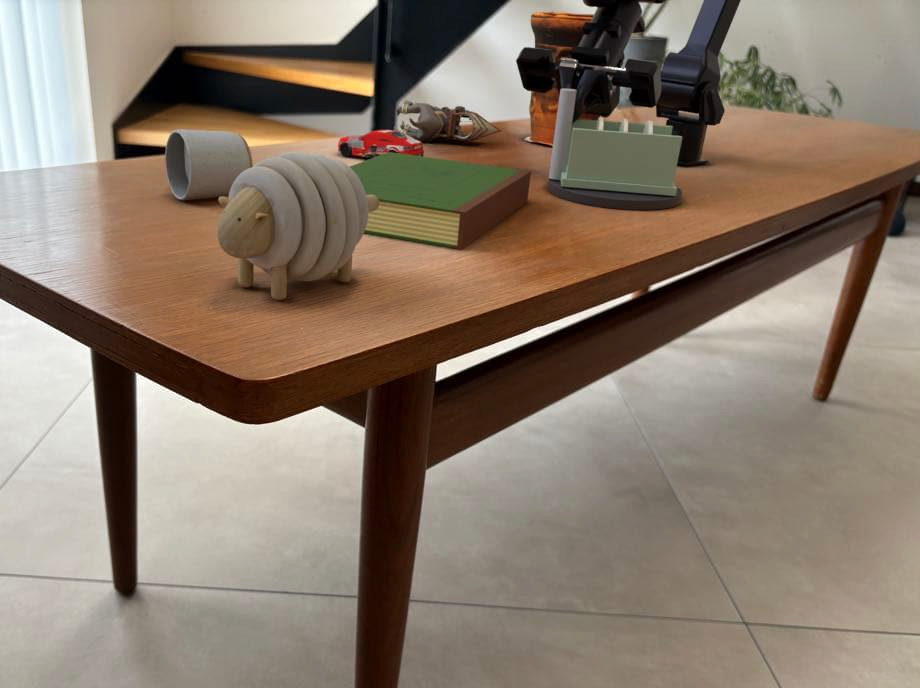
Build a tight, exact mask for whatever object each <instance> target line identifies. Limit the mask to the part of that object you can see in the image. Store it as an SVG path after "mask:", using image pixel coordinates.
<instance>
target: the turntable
mask: <svg viewBox="0 0 920 688" xmlns="http://www.w3.org/2000/svg"><path fill="white" fill-rule="evenodd" d="M547 180H548V181H547V191H548V192H549V193H551V194H552V195H554V196H556V197H558V198H560V199H562V200H563V199H564V200H566V201H569V202H572V203H576V204H582V205H585V206H592V207H599V208H606V209H613V210H626V211H627V210H628V211H656V210H657V211H658V210H664V209H665V210H666V209H670V208H675V207H676V206H678V205H680V204H681V202H682V198H683V190H682V189H681V188H680V187H678V186H677V185H675V186H676V187H677V193H676V196H668V195H656V194H644V193H632V192H620V191H608V190H596V189H584V188H572V187H561V180H554V179H550V178H549V177H548V179H547Z"/></svg>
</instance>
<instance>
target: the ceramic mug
mask: <svg viewBox="0 0 920 688" xmlns="http://www.w3.org/2000/svg"><path fill="white" fill-rule="evenodd" d="M251 151H252V150H251V148H250V145H249V144H248V142H247V140H246V139H245V138H244V137H243V136H242V135H241V134H238V133H236V132H231V131H228V130H227V131H226V130H198V129H187V128H186V129H185V128H184V129H183V128H181V129H180V128H178V129H173V130H172V132H171V133H169V136H168V137H167V141H166V146H165V151H164V163H165V164H164V165H165V173H166V178H167V182H168V185H169V188H170V190H171V192H172V194H173V196H174V197H175V198H176V199H177V200H179V201H194V200H205V199H206V200H207V199H213V198H219V197H222V196H225V197H227V198H228V196H229V192H230V189H231V187H232V185H233V183H234V181H235V180H236V178H237V177H238V176H239V175H240V174H241V173H242V172H243V171H245V170H247V169H249V168H251V167H253V166H254V164H253V163H254V162H253V156H252V152H251Z"/></svg>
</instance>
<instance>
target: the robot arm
mask: <svg viewBox="0 0 920 688" xmlns="http://www.w3.org/2000/svg"><path fill="white" fill-rule="evenodd" d="M666 1H667V0H582V2H583V4H584V5H585V6H586V7H590V8H596V9H595V12H594V13H593V14H594V16H593V18H592V20H591V22H585V24H584V26H583V34H584V36H583V38H582V40H581V42H580V44H579V46H573V48H572V50H571V57H572V59H571V58H561V59H560V62H561V63H554V60H553V55H552V51H551V50H549V49H540V48H535V47H531V46H524V47H523V48H522V49H521V50H520V52H519V54H518V55H517V58H516V60H515V63H516V66H517V69H518V73H519V74H518V75H519V78H520V81H521V84H522V88H523V89H525V90H526V91H527V92H531V91H532V92H540V93H546V92H548V91H550V90H552V89H553V87H554V85H555V81H556V85H557V89H558V94H559V96H560V89H575V90H577V92H576V99H575V106H574V113H573V120H572V124H573V123H574V122H575V121H576V120H577V119H579V118H580V117H581V116H582V115H583V114H584V115H596V116H600V117H603V118H609V117H610V116H611V115H612V114H613V112H614V111H615V110H616V108H617V107H618V106H619V104H620V101H621V100H620V99H621V88H627V89H630V93H629V95H628V101H629V102H630V104H631V106H634V107H635V106H636V107H640V108H641V107H643V108H648V109H649V108H650V109H653V108H654V107H655V116H656V118H659V119H660V118H663V119H666V120H665V121H666V122H665V125H666V126H673V128H672V134H671V135H672V136H682V142H681V147H680V152H679V157H678V162H677V166H685V167H687V166H694V165H695V166H696V165H702V164H709V162H710V159H708V158H703V157H702V154H703V149H704V144H705V140H706V134H707V129H708V126H717V125H719V124H721V121H722V120H723V116H724V114H725V111H726V109H725V106H724V104H723V101H722V98H721V96H720V93H719V90H718V88H719V84H720V82H721V78H722V75H721V68H720V62H719V56H720V53H721V50H722V47H723V45H724V42H725V39H726V38H727V35H728V33H729V30H730V27H731V25H732V23H733V20H734V18H735V16H736V13H737V11H738V8H739V7H740V3H741V1H742V0H703V2H702V4H701V7H700V9H699V11H698V14H697V16H696V18H695V21H694V24H693V27H692V29H691V32H690V34H689V36H688V39H687V42H686V43H685V46H684V47H682V48H681V49H680V50H679V51H678V52H672V51H671V52H669V53H668V54H667V55H666V56H665V58H664V62H663V65H662V68H661V66H660V64H659V63H658V61H656V60H655V61H654V60H645V59H638V58H627V60H626V61H625V59H626V58H625V50H626V48H627V46H628V43H629V41H630V39H631V37H632V35H633V34H640V33H644V32H645V31H646V22H645V20H644V17H643V9H642V6H641V4H655V5H656V4H658V5H659V4H660V5H661V4H664V3H665V2H666ZM640 3H641V4H640ZM624 61H625V64H624ZM623 65H624V67H623Z"/></svg>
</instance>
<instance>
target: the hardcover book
mask: <svg viewBox="0 0 920 688" xmlns="http://www.w3.org/2000/svg"><path fill="white" fill-rule="evenodd" d="M349 167H350V168H351V169H352V170H353V171H354V172H355V173H356V174H357V176H358V177H359V179H360V181H361V183H362V185H363V187H364V190H365V193H366V195H375V196H376V197H377V198H378V200H379V207H378V209H377V210H375V211H371V212H368V221H367V225H366V228H365V231H364V234H368V235H373V236H381V237H386V238H392V239H397V240H404V241H408V242H409V241H410V242H415V243H421V244H425V245H426V244H427V245H433V246H438V247H445V248H450V249H456V250H463V249H464V248H466V247H467V246H469V245H470V244H472V243H473V242H474V241H476V240H477V239H478V238H480V237H481V236H483V235H484V234H486V233H487V232H488V231H489V230H491V229H492V228H494V227H496V226H497V225H498V224H499V223H501V222H502V221H503V220H505V219H506V218H508V217H510V215H512V214H513V213H515V211H518V209H520V208H521V207H523V206H524V205H525V204H527V203H528V199H529V191H530V183H531V175H532V170H525V169H520V168H519V169H518V168H510V167H503V166H496V165H490V164H489V165H488V164H480V163H474V162H473V163H472V162H467V161H458V160H451V159H445V158H444V159H443V158H437V157H429V156H423V157H422V156H415V155H407V154H400V153H392V152H388V153H385V154H382V155H380V156H377V157H374V158H369V159H366V160H364V161H361V162H358V163H355V164H353V165H350V166H349Z"/></svg>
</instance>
